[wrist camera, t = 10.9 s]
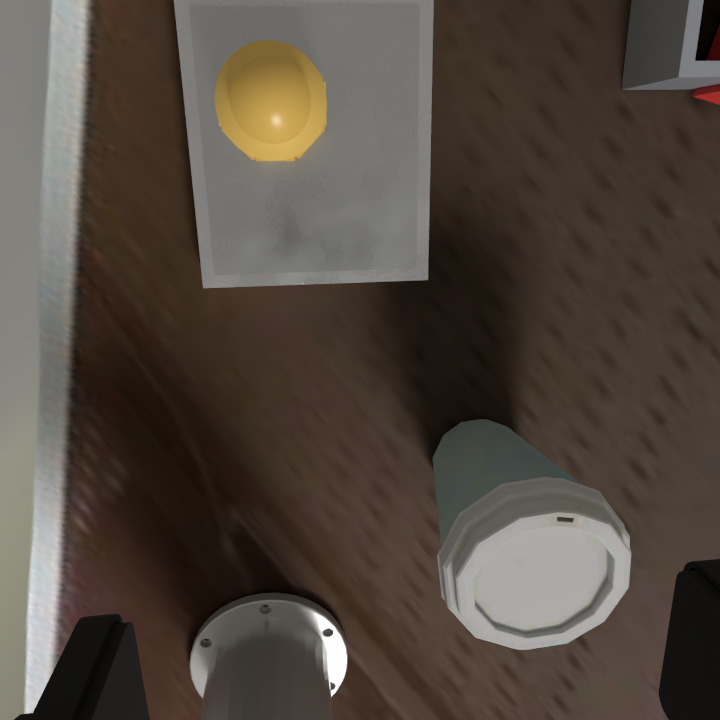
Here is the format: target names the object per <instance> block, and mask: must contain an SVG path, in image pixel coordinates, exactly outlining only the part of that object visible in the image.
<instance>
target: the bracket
mask: <svg viewBox="0 0 720 720" xmlns="http://www.w3.org/2000/svg"><path fill="white" fill-rule="evenodd" d="M706 61H720V25H719V27H718V30H717V33H716V35H715V38H714V41H713V43H712V46H711V49H710V51H709V54H708V56H707V59H706ZM693 97H696V98H699V99H703V100H706V101H709V102H712V103H715V104H718V105H720V84H718V85H712V86H707V87H701V88H696V89H695V91H694V94H693Z"/></svg>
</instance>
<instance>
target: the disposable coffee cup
mask: <svg viewBox="0 0 720 720" xmlns="http://www.w3.org/2000/svg"><path fill="white" fill-rule="evenodd" d="M433 468H434V478H435V488H436V498H437V508H438V518H439V528H440V538H441V549H440V551H439V553H438V555H437V559H438V567H439V576H440V585H441V594H442V598H443V599H444V600H445V602H446V604H447V607H448V608H449V609H450V610H451V612H452V613H453V614H454V615H455V616H456V617H457V618H458V619H459V620H460V621H461V622H462V623H463V625H464V626H465V627H466V628H467V629H468V630H469V631H470V632H471V633H472V634H473V635H474V636H475V637H476V638H479V639H483V640H486V641H490V642H493V643H497V644H500V645H504V646H507V647H511V648H514V649H518V650H528V649H534V648H541V647H547V646H554V645H560V644H566V643H568V642H570V641H572V640H574V639H575V638H577V637H579V636H580V635H582V634H584V633H585V632H587V631H589V630H590V629H592V628H594V627H596V626H597V625H599V624H601V623H602V622H604V621H605V620H606V619H607V617H608V616H609V614H610V613H611V612H612V610H613V609H614V607H615V606H616V605H617V603H618V602H619V600H620V599H621V598H622V596H623V595H624V593H625V592H626V591H627V589H628V588H629V577H630V562H631V551H630V536H629V534H628V533H627V531H626V530H625V528H624V524H623V523H622V521H621V520H620V519H619V517H618V516H617V515H616V513H615V512H614V511H613V509H612V508H611V507H610V505H609V504H608V503H607V501H606V500H605V498H604V497H603V496H602V494H601V493H600V492H599V491H597V490H594V489H591V488H589V487H586V486H583V485H581V484H580V483H579V482H578V481H576V480H575V479H574V478H572V477H571V476H570V475H569V474H567V473H566V472H565V471H564V470H562V469H561V468H560V467H558V466H557V465H556V464H555V463H553V462H552V461H551V460H549V459H548V458H547V457H546V456H544V455H543V454H542V453H540V452H539V451H538V450H537V449H535V448H534V447H533V446H532V445H530V444H529V443H528V442H526V441H525V440H524V439H523V438H521V437H520V436H519V435H517V434H516V433H515V432H514V431H512V430H511V429H510V428H508V427H507V426H504V425H501V424H498V423H496V422H493V421H490V420H487V419H478V420H472V421H466V422H461V423H459V424H458V425H457V426H455V427H454V428H452V429H451V430H450V431H448V432H447V433H445V434H444V435H443V437H442V439H441V441H440V443H439V445H438V447H437V449H436V451H435V453H434V456H433Z"/></svg>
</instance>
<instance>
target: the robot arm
mask: <svg viewBox="0 0 720 720" xmlns="http://www.w3.org/2000/svg"><path fill="white" fill-rule="evenodd" d="M347 663H348V652H347V643H346V639H345V636H344V632H343V631H342V629H341V627H340V625H339V623H338V622H337V621H336V620H335V618H334V617H333V616H332V615H331V614H330V613H329V612H328V611H326V610H325V609H324V608H322V607H321V606H320V605H318V604H316V603H314V602H312V601H310V600H308V599H306V598H302V597H299V596H295V595H292V594H284V593H260V594H255V595H250V596H246V597H243V598H240V599H238V600H235V601H232V602H230V603H229V604H227V605H225V606H223V607H222V608H220V609H218V610H217V611H216V612H215V613H214V614H212V615H211V616H210V617H209V618H208V619H207V620H206V622H205V623H204V624H203V625H202V627H201V628H200V629H199V631H198V633H197V635H196V637H195V639H194V643H193V647H192V651H191V656H190V665H189V666H190V674H191V679H192V681H193V684H194V686H195V689H196V690H197V692H198V693H199V694H200V696H201V697H202V699H203V701H202V707H201V712H200V718H199V720H333V717H332V700H331V697H332V696H333V695H334V694H335V692H336V691H337V690H338V688H339V687H340V685H341V683H342V682H343V679H344V676H345V673H346V670H347ZM659 697H660V702H661V705H662V708H663V710H664V712H665V714H666V716H667V717H668V719H669V720H720V559H715V560H704V561H693V562H689V563H687V564H686V565H685V567H684V570H683V571H682V572H679V573H678V575H677V578H676V583H675V589H674V596H673V602H672V609H671V615H670V622H669V628H668V635H667V641H666V648H665V654H664V661H663V667H662V674H661V680H660V687H659ZM14 720H150V719H149V714H148V708H147V702H146V696H145V690H144V684H143V678H142V673H141V667H140V661H139V655H138V649H137V643H136V637H135V632H134V627H133V624H132V623H131V622H127V623H123V622H122V618H121V617H120V615H119V614H110V615H99V616H88V617H82V618H81V619H80V620H79V621H78V623H77V624H76V626H75V628H74V630H73V632H72V634H71V636H70V639H69V641H68V643H67V645H66V647H65V649H64V651H63V653H62V655H61V657H60V659H59V661H58V663H57V665H56V667H55V669H54V671H53V673H52V675H51V677H50V679H49V681H48V683H47V685H46V687H45V690H44V692H43V694H42V696H41V698H40V700H39V702H38V704H37V706H36V708H35V710H34V712H33V713H30V714H21V715H19V716H18V717H17V718H16V719H14Z"/></svg>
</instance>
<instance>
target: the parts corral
mask: <svg viewBox="0 0 720 720" xmlns="http://www.w3.org/2000/svg"><path fill="white" fill-rule="evenodd" d="M703 2H704V0H631V9H630V18H629V27H628V36H627V44H626V53H625V62H624V71H623V80H622V89H621V90H676V89H696V88H701V87H707V86H712V85H718V84H720V61H695V57H696V50H697V44H698V37H699V30H700V23H701V16H702V9H703Z"/></svg>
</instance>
